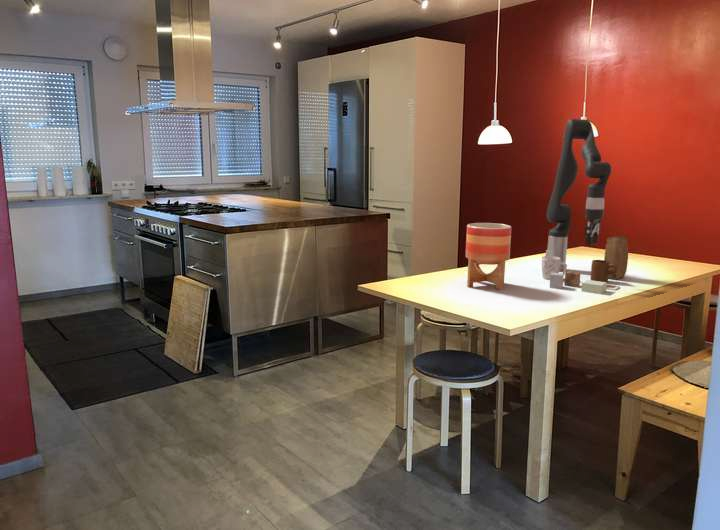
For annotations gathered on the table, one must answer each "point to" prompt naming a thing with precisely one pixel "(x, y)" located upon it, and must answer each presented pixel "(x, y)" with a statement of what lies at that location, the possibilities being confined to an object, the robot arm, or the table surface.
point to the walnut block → (572, 279)
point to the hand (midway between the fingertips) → (591, 244)
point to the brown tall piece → (617, 255)
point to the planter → (487, 251)
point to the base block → (594, 286)
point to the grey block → (556, 280)
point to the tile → (612, 287)
